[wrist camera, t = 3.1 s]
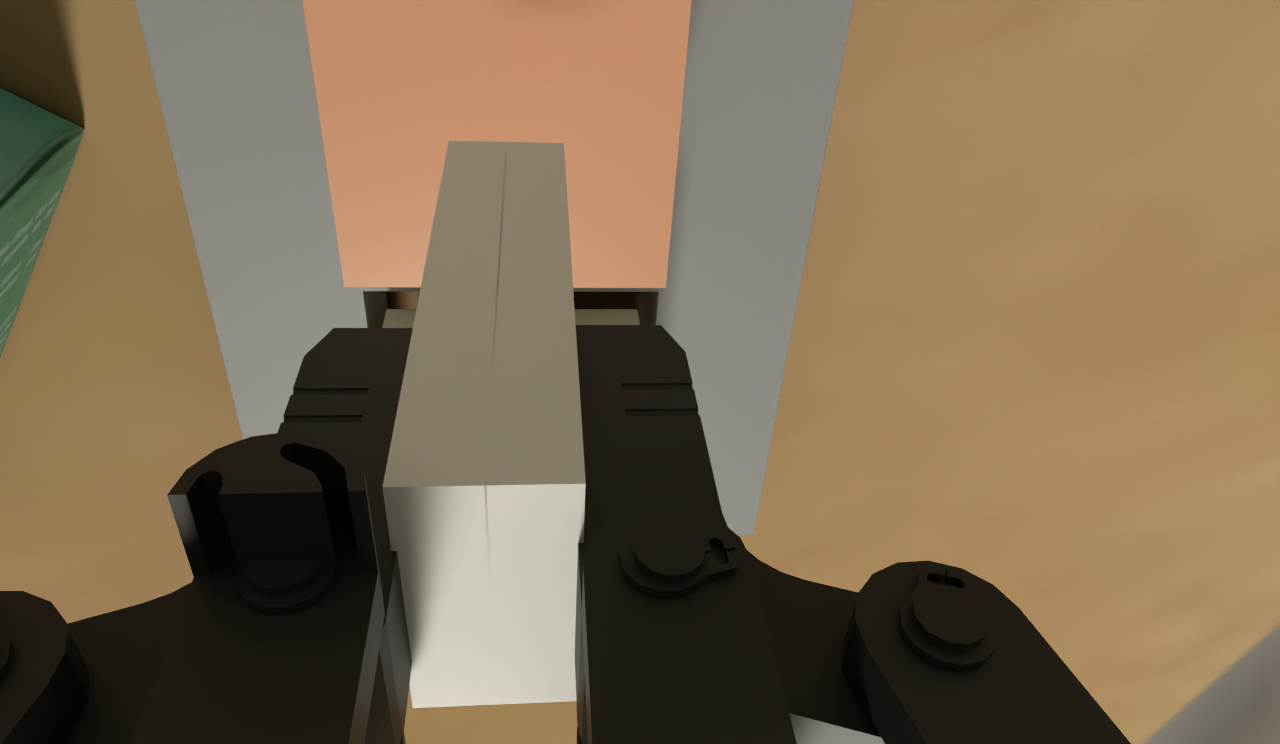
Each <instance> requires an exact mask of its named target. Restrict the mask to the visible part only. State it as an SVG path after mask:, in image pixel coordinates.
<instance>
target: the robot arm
mask: <svg viewBox="0 0 1280 744" xmlns="http://www.w3.org/2000/svg"><path fill="white" fill-rule="evenodd" d="M692 384H693V382H692V378H691V374H690V369H689V365H688V360H687V356H686V352H685V351H684V350H683V348H682V347H681V346H680V345H679V344H678V343H677V342H676V341H675V340H674V339H673V338H672V337H671V335H670V334H669V333H668V332H667V331H666V330H665V329H664V328H663V327H662V326H661V325H575V309H574V293H573V278H572V262H571V246H570V231H569V215H568V200H567V184H566V168H565V153H564V143H533V142H488V141H449V142H448V147H447V152H446V157H445V163H444V168H443V173H442V178H441V184H440V189H439V194H438V199H437V205H436V210H435V215H434V220H433V225H432V231H431V236H430V241H429V246H428V252H427V257H426V262H425V267H424V273H423V278H422V283H421V288H420V293H419V299H418V304H417V309H416V314H415V320H414V325H413V328H333V329H332V330H331V331H330V332H329V333H328V334H327V335H326V336H325V337H324V338H323V339H322V340H320V341H319V342H318V343H317V344H316V345H315V346H314V347H313V348H312V349H311V350H310V351H309V352H308V353H307V354H306V355H305V356H304V358H303V361H302V363H301V366H300V369H299V372H298V375H297V378H296V381H295V384H294V387H293V395H290V398H289V401H288V404H287V407H286V410H285V413H284V415H283V416H284V422H283V423H281V424H280V427H279V430H278V433H275V434H267V435H260V436H252V437H249V438H246V439H243V440H241V441H238V442H235V443H232V444H230V445H227V446H224V447H222V448H219V449H216V450H214V451H213V452H212V453H210V454H209V455H207V456H206V457H204V458H203V459H201V460H200V461H198V462H197V463H196V464H194V465H193V466H191V467H190V468H188V469H187V470H186V471H185V472H184V473H183V475H182V476H181V477H180V479H179V480H178V481H177V483H176V484H175V485H174V487H173V488H172V489H171V491H170V492H169V493H168V495H167V496H168V499H169V502H170V505H171V508H172V511H173V514H174V517H175V520H176V523H177V526H178V529H179V533H180V536H181V539H182V542H183V545H184V548H185V551H186V554H187V557H188V560H189V563H190V566H191V570H192V573H193V576H194V578H193V581H192V582H191V583H190V584H188V585H186V586H184V587H182V588H180V589H178V590H176V591H175V592H173V593H170V594H168V595H165V596H162V597H159V598H156V599H154V600H151V601H148V602H145V603H142V604H139V605H135V606H131V607H127V608H124V609H120V610H116V611H113V612H109V613H105V614H102V615H98V616H94V617H91V618H87V619H83V620H79V621H76V622H72V623H68V624H67V623H66V621H65V620H64V619H63V617H62V616H61V615H60V613H59V612H58V611H57V609H56V608H55V607H54V605H53V604H52V603H51V602H50V601H47V600H45V599H42V598H39V597H37V596H34V595H31V594H29V593H26V592H24V591H0V744H406V743H405V736H404V723H405V715H406V707H407V700H408V692H409V684H410V691H411V698H412V705H413V708H425V707H448V706H471V705H495V704H518V703H541V702H565V701H576V702H577V744H1131V743H1130V742H1129V741H1128V740H1127V738H1126V737H1125V736H1124V735H1123V734H1122V732H1121V731H1120V730H1119V729H1118V728H1117V726H1116V725H1115V724H1114V723H1113V721H1112V720H1111V719H1110V718H1109V717H1108V715H1107V714H1106V713H1105V712H1104V711H1103V709H1102V708H1101V707H1100V706H1099V705H1098V703H1097V702H1096V701H1095V700H1094V698H1093V697H1092V696H1091V695H1090V694H1089V692H1088V691H1087V690H1086V689H1085V688H1084V686H1083V685H1082V684H1081V683H1080V681H1079V680H1078V679H1077V678H1076V677H1075V675H1074V674H1073V673H1072V672H1071V671H1070V669H1069V668H1068V667H1067V666H1066V665H1065V663H1064V662H1063V661H1062V660H1061V658H1060V657H1059V656H1058V655H1057V654H1056V652H1055V651H1054V650H1053V649H1052V648H1051V646H1050V645H1049V644H1048V643H1047V641H1046V640H1045V639H1044V638H1043V637H1042V635H1041V634H1040V633H1039V632H1038V631H1037V629H1036V628H1035V627H1034V626H1033V624H1032V623H1031V622H1030V621H1029V620H1028V618H1027V617H1026V616H1025V615H1024V614H1023V612H1022V611H1021V610H1020V609H1019V608H1018V607H1017V606H1016V605H1015V604H1014V603H1013V602H1012V601H1011V600H1009V599H1008V598H1007V597H1006V596H1005V595H1004V594H1003V593H1002V592H1001V591H1000V590H998V589H997V588H996V587H995V586H994V585H993V584H991V583H989V582H987V581H985V580H983V579H981V578H979V577H977V576H975V575H973V574H971V573H969V572H968V571H966V570H964V569H962V568H957V567H953V566H949V565H944V564H940V563H936V562H931V561H917V562H900V563H896V564H894V565H891V566H889V567H887V568H885V569H883V570H880V571H878V572H876V573H874V574H872V576H871V577H870V578H869V580H868V581H867V582H866V584H865V585H864V586H863V588H862V589H861V590H860V592H859V593H857V592H853V591H849V590H845V589H840V588H836V587H832V586H828V585H824V584H819V583H815V582H811V581H807V580H803V579H800V578H797V577H794V576H791V575H788V574H785V573H782V572H780V571H778V570H776V569H774V568H772V567H771V566H769V565H767V564H765V563H763V562H761V561H760V560H758V559H757V558H756V557H755V556H753V555H752V554H751V553H750V552H749V551H747V550H746V548H745V546H744V544H743V542H742V540H741V538H740V537H739V536H738V535H737V534H735V533H734V532H733V531H732V530H731V529H730V528H728V526H727V523H726V521H725V518H724V516H723V513H722V510H721V505H720V501H719V497H718V492H717V488H716V484H715V479H714V475H713V470H712V466H711V462H710V457H709V453H708V448H707V444H706V440H705V435H704V431H703V426H702V422H701V418H700V415H698V404H697V400H696V396H695V391H694V389H693V387H692Z"/></svg>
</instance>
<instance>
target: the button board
mask: <svg viewBox="0 0 1280 744" xmlns="http://www.w3.org/2000/svg"><path fill="white" fill-rule="evenodd" d="M853 1H854V0H692V1H691V12H690V23H689V34H688V46H687V57H686V68H685V79H684V90H683V102H682V113H681V124H680V135H679V146H678V158H677V169H676V180H675V191H674V202H673V213H672V225H671V236H670V247H669V258H668V269H667V281H666V288H573V292H642V299H641V312H640V325H661V326H662V327H663V328H664V329H665V330H666V331H667V332H668V333H669V334H670V335H671V337H672V338H673V339H674V340H675V341H676V342H677V343H678V344H679V345H680V346H681V347H682V348H683V350H684V351H685V352H686V356H687V360H688V365H689V369H690V374H691V378H692V382H693V384H692V387H693V389H694V391H695V396H696V400H697V404H698V415H700V418H701V422H702V426H703V431H704V435H705V440H706V444H707V448H708V453H709V457H710V462H711V466H712V470H713V475H714V479H715V484H716V488H717V492H718V497H719V501H720V505H721V510H722V513H723V516H724V518H725V521H726V523H727V526H728V528H730V529H731V530H732V531H733V532H734V533H735V534H737V535H754V530H755V525H756V519H757V514H758V509H759V503H760V498H761V493H762V487H763V482H764V477H765V471H766V466H767V461H768V455H769V450H770V445H771V439H772V434H773V429H774V423H775V418H776V413H777V407H778V402H779V397H780V391H781V386H782V380H783V375H784V370H785V364H786V359H787V354H788V348H789V343H790V338H791V332H792V327H793V322H794V316H795V311H796V306H797V300H798V295H799V290H800V284H801V279H802V274H803V268H804V263H805V258H806V252H807V247H808V242H809V236H810V231H811V226H812V220H813V215H814V210H815V204H816V199H817V194H818V188H819V183H820V178H821V172H822V167H823V162H824V156H825V151H826V146H827V140H828V135H829V130H830V124H831V119H832V114H833V108H834V103H835V98H836V92H837V87H838V82H839V76H840V71H841V66H842V60H843V55H844V49H845V44H846V39H847V33H848V28H849V23H850V17H851V12H852V7H853ZM135 3H136V7H137V11H138V15H139V20H140V24H141V28H142V32H143V36H144V40H145V44H146V48H147V52H148V56H149V60H150V64H151V68H152V72H153V76H154V80H155V84H156V88H157V92H158V96H159V101H160V105H161V109H162V113H163V117H164V121H165V125H166V129H167V133H168V137H169V141H170V145H171V149H172V153H173V157H174V161H175V165H176V169H177V173H178V178H179V182H180V186H181V190H182V194H183V198H184V202H185V206H186V210H187V214H188V218H189V222H190V226H191V230H192V234H193V238H194V242H195V246H196V250H197V255H198V259H199V263H200V267H201V271H202V275H203V279H204V283H205V287H206V291H207V295H208V299H209V303H210V307H211V311H212V315H213V319H214V323H215V327H216V331H217V336H218V340H219V344H220V348H221V352H222V356H223V360H224V364H225V368H226V372H227V376H228V380H229V384H230V388H231V392H232V396H233V400H234V404H235V408H236V413H237V417H238V421H239V425H240V429H241V433H242V437H243V439H246V438H249V437H252V436H260V435H267V434H275V433H278V430H279V427H280V424H281V423H283V422H284V416H283V415H284V413H285V410H286V407H287V404H288V401H289V398H290V395H293V387H294V384H295V381H296V378H297V375H298V372H299V369H300V366H301V363H302V361H303V358H304V356H305V355H306V354H307V353H308V352H309V351H310V350H311V349H312V348H313V347H314V346H315V345H316V344H317V343H318V342H319V341H320V340H322V339H323V338H324V337H325V336H326V335H327V334H328V333H329V332H330V331H331V330H332V329H333V328H382V327H383V323H384V319H385V314H386V310H387V309H388V303H387V295H386V291H420V288H421V287H344V282H343V276H342V269H341V262H340V255H339V248H338V241H337V234H336V227H335V221H334V214H333V207H332V200H331V193H330V186H329V179H328V172H327V166H326V159H325V152H324V145H323V138H322V131H321V124H320V118H319V111H318V104H317V97H316V90H315V83H314V76H313V69H312V63H311V56H310V49H309V42H308V35H307V28H306V21H305V14H304V8H303V1H302V0H135Z"/></svg>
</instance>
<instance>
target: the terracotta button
mask: <svg viewBox="0 0 1280 744" xmlns="http://www.w3.org/2000/svg"><path fill="white" fill-rule="evenodd" d="M302 1H303V8H304V14H305V21H306V28H307V35H308V42H309V49H310V56H311V63H312V69H313V76H314V83H315V90H316V97H317V104H318V111H319V118H320V124H321V131H322V138H323V145H324V152H325V159H326V166H327V172H328V179H329V186H330V193H331V200H332V207H333V214H334V221H335V227H336V234H337V241H338V248H339V255H340V262H341V269H342V276H343V282H344V287H421V283H422V278H423V273H424V267H425V262H426V257H427V252H428V246H429V241H430V236H431V231H432V225H433V220H434V215H435V210H436V205H437V199H438V194H439V189H440V184H441V178H442V173H443V168H444V163H445V157H446V152H447V147H448V142H449V141H488V142H533V143H564V153H565V168H566V184H567V200H568V215H569V231H570V246H571V262H572V278H573V288H666V281H667V269H668V258H669V247H670V236H671V225H672V213H673V202H674V191H675V180H676V169H677V158H678V146H679V135H680V124H681V113H682V102H683V90H684V79H685V68H686V57H687V46H688V34H689V23H690V12H691V1H692V0H302Z"/></svg>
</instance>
